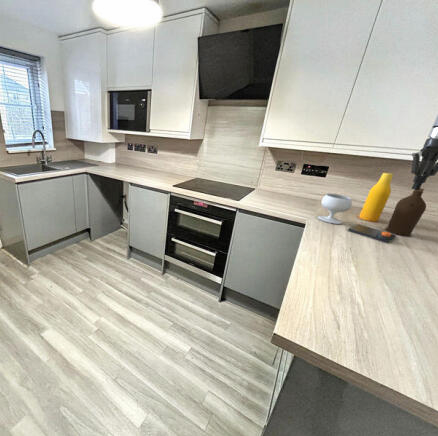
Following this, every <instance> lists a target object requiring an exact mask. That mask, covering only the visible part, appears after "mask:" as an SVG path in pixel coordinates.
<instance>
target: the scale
mask: <svg viewBox="0 0 438 436" xmlns="http://www.w3.org/2000/svg"><path fill="white" fill-rule="evenodd" d="M347 230H348V232H351V233H354V234H357V235H361V236H362V237H363V236H364V237H367V238H370V239H373V240H376V241H379V242H383V243H386V244H388V243H389V242H391V241H394V239H395V238H396V235H397V234H393V233H391V236H390V237H388V236H384V235H382V232H385V231H383V230H380V229H377V228H373V227H370V226H366V225H363V224H360V223H358V224H355V225H353V226H351V227H349V228H348V229H347Z"/></svg>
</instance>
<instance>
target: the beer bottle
mask: <svg viewBox="0 0 438 436" xmlns="http://www.w3.org/2000/svg"><path fill="white" fill-rule="evenodd" d="M393 175H394V174H393V173H391V172H383V173H382V174H381V176H380V178H379V180H378V181H377V182H376V183H375V184H374V185H373V186H372V187H371V188H370V190H369V192H368V194H367V197H366V199H365V201H364V204H363V206H362V208H361V211H360V213H359V216H358V217H359V219H361V220H364V221H367V222H371V223H377V222H379V220H380V217H381V215H382V214H383V211H384V209H385V207H386V205H387V202H388V200H389V198H390V196H391V193H392V192H391V191H392V190H391V189H392V187H391V183H392V180H393Z"/></svg>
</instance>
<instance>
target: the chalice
mask: <svg viewBox="0 0 438 436" xmlns="http://www.w3.org/2000/svg"><path fill="white" fill-rule="evenodd" d="M352 204H353V201H352V198H351V197H349V196H346V195H342V194H336V193H327V194H325V195H324V196H323V198H322V199H321V206H322V207H323V208H324V209H326V211H328V212H329V215H319V216H317V218H318V220H320V221H323V222H326V223H329V224H337V225H341V224H343V221H342V220H340V219H338V218H335V217H334V216H335V215H336V214H338V213H343V212H346V211H347V212H348V210H350V209H351V207H352V206H353V205H352Z"/></svg>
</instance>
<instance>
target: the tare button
mask: <svg viewBox="0 0 438 436" xmlns="http://www.w3.org/2000/svg"><path fill="white" fill-rule="evenodd" d="M391 234H392V233H391V232H388V231H384V232H382V235H384V236H388V237H390V236H391Z"/></svg>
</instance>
